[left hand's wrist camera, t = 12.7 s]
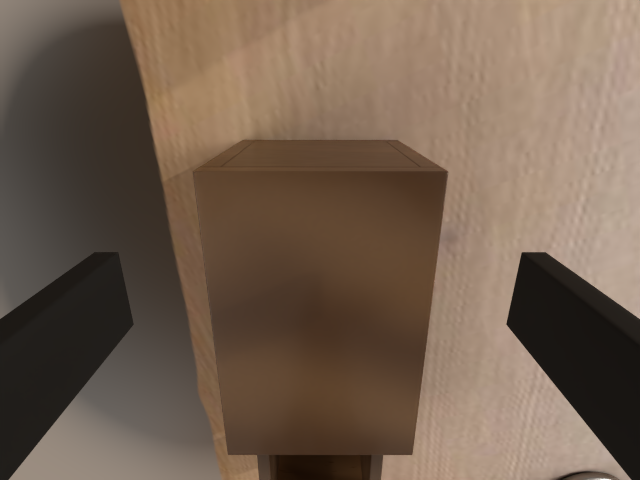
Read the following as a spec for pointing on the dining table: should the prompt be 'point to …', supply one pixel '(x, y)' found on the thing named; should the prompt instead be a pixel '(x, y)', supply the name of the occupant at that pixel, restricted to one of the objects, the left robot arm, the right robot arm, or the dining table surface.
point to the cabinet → (320, 291)
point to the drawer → (320, 467)
